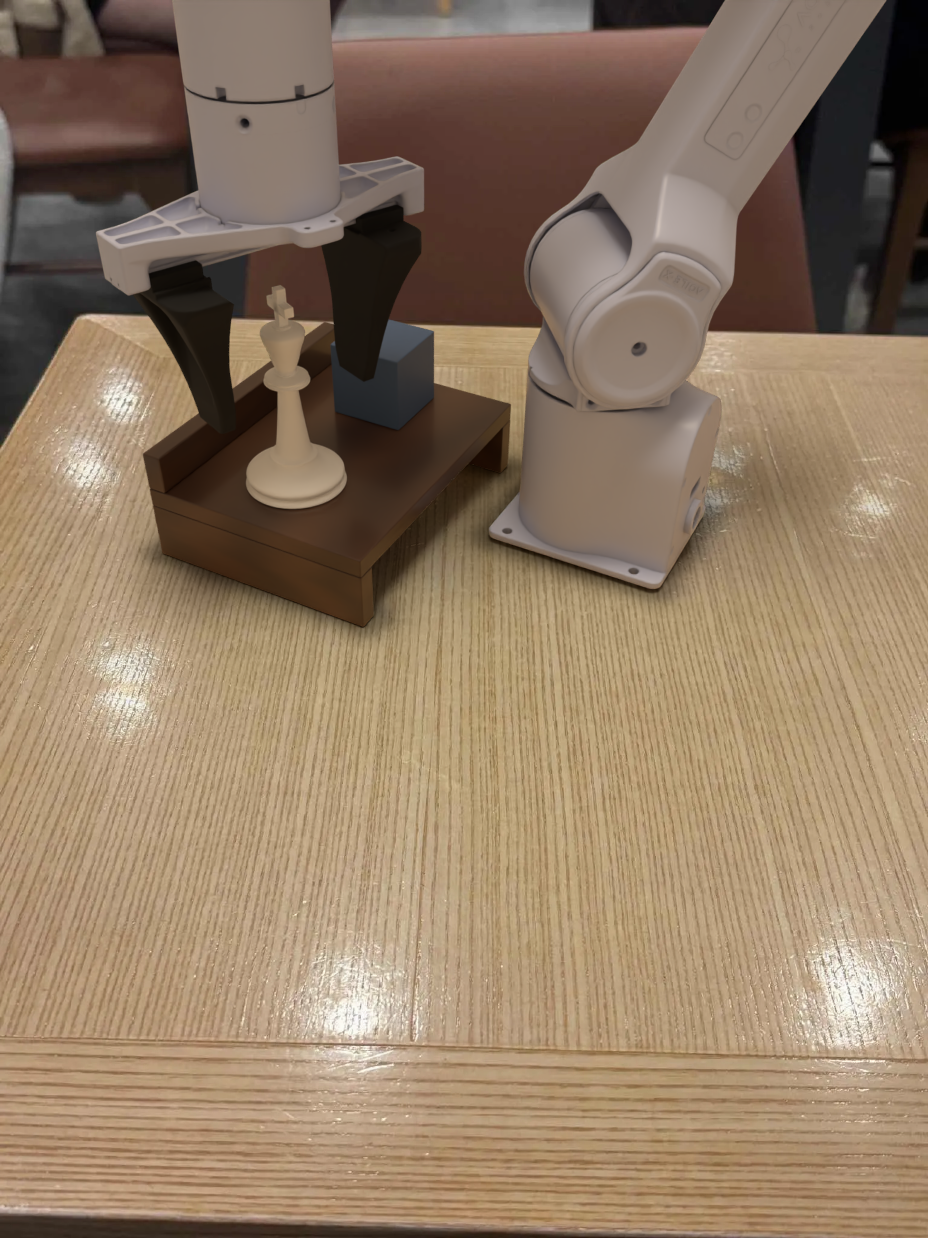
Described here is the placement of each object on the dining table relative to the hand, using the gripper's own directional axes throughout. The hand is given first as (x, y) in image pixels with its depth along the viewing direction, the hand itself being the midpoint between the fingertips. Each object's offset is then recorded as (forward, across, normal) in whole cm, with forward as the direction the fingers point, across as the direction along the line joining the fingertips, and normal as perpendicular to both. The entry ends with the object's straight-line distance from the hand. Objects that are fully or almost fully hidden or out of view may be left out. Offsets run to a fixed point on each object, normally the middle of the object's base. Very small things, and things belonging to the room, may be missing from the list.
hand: (289, 396), depth 51 cm
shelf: (+9, +4, +2) cm, 10 cm away
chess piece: (+5, 0, 0) cm, 5 cm away
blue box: (+5, +8, +3) cm, 10 cm away
